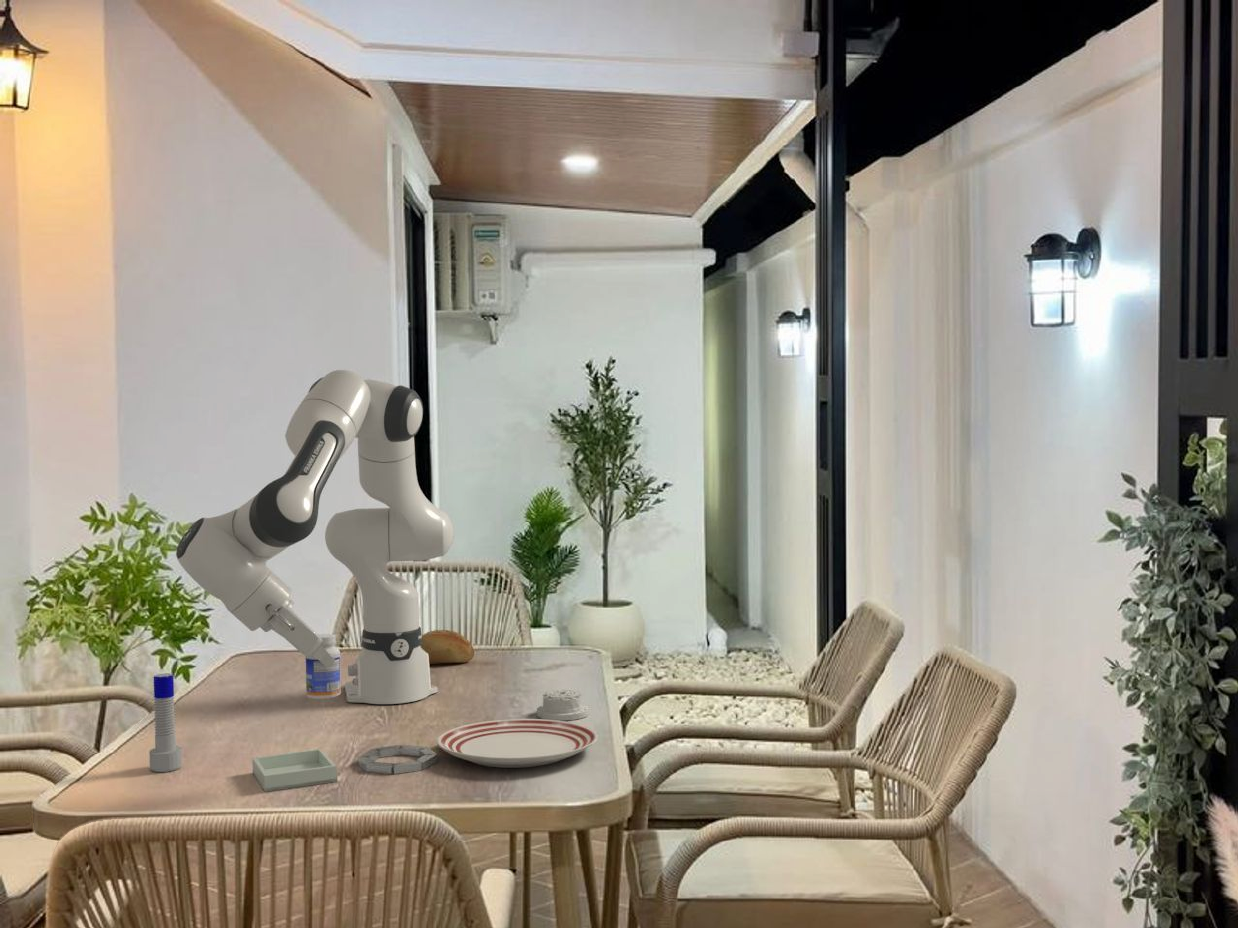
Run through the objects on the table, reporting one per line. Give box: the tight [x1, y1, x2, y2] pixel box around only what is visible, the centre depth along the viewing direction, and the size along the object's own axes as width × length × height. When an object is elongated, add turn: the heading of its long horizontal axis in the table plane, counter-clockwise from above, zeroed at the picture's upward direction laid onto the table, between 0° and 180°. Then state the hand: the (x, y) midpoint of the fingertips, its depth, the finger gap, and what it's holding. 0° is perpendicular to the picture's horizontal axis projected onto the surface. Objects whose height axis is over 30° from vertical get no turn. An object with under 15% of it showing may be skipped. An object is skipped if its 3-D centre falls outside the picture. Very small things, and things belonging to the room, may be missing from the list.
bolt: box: [148, 672, 183, 773], centre depth 200 cm, size 16×5×5 cm
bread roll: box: [420, 629, 475, 665], centre depth 281 cm, size 10×15×8 cm, turn 97°
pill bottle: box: [305, 633, 342, 700], centre depth 194 cm, size 5×5×10 cm
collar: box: [357, 744, 438, 775], centre depth 202 cm, size 12×12×1 cm
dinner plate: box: [436, 718, 599, 769], centre depth 207 cm, size 27×27×3 cm
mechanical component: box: [536, 689, 590, 722], centre depth 233 cm, size 10×4×10 cm
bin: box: [251, 748, 338, 793], centre depth 195 cm, size 11×11×2 cm
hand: (327, 660), depth 195 cm, fingers closed on pill bottle, 5 cm apart
